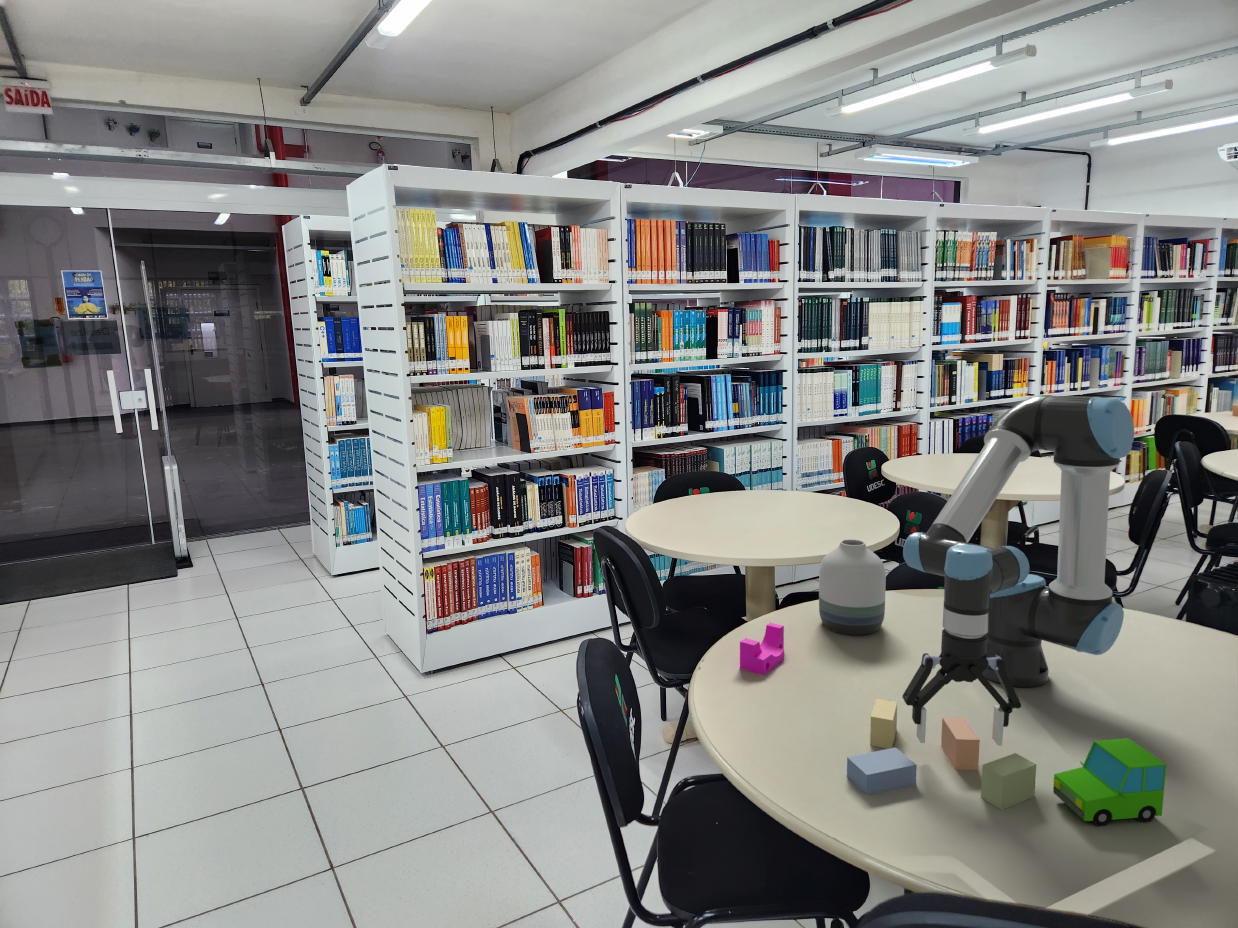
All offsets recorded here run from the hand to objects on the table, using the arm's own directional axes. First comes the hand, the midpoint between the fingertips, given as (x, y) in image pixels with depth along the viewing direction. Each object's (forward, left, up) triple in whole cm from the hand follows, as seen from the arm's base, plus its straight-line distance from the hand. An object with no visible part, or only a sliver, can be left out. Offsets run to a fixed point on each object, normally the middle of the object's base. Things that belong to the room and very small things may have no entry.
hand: (958, 740), depth 141 cm
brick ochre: (+12, -7, -4) cm, 14 cm away
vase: (+7, -64, -4) cm, 65 cm away
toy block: (+31, -42, -4) cm, 52 cm away
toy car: (-18, +15, -4) cm, 24 cm away
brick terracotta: (0, 0, -4) cm, 4 cm away
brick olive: (-4, +12, -4) cm, 13 cm away
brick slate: (+16, +8, -4) cm, 18 cm away
